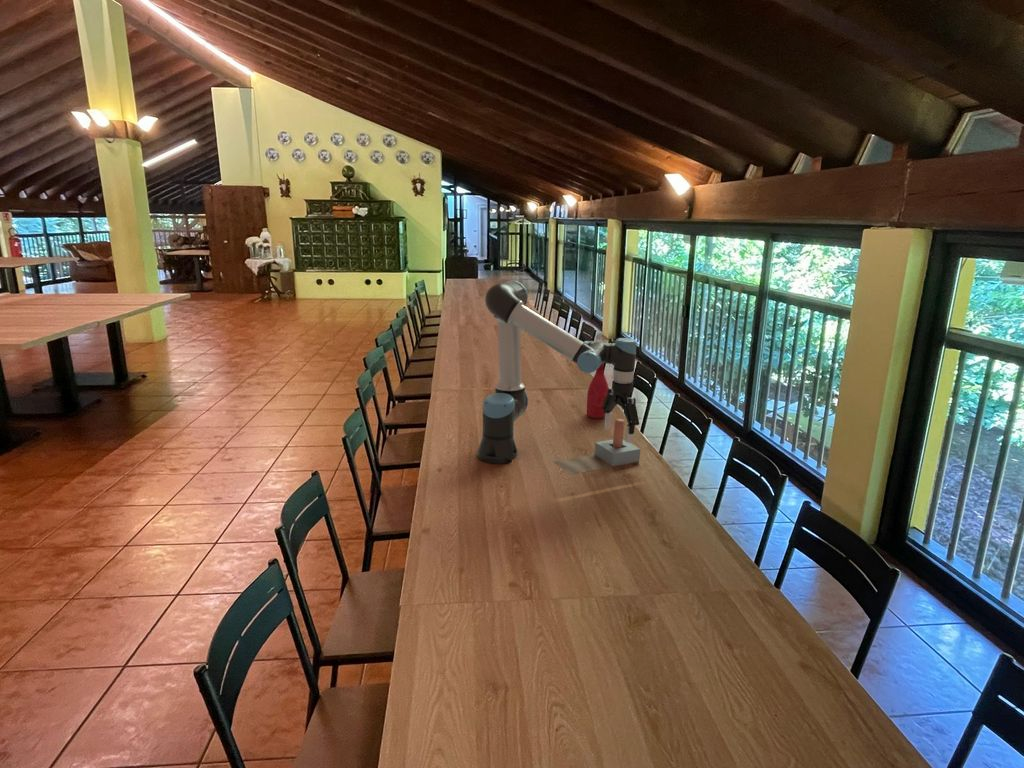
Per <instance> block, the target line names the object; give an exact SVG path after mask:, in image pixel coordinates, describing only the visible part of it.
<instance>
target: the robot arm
mask: <svg viewBox="0 0 1024 768" xmlns="http://www.w3.org/2000/svg"><path fill="white" fill-rule="evenodd" d="M528 293H529V292H528V290H527V287H525V286H524V284H522V283H521V282H519V281H517V280H510V279H509V280H508V279H507V280H504V281H502V282H500V283H499V282H498V283H496V284H493V285H492V286H491V287H489V289H488V290H487V291H486V294H485V297H484V298H485V301H484V302H485V305H486V309H488V311H489V313H491V314H492V315H493V318H494V320H496V321H497V333H498V335H497V337H498V338H497V340H498V342H497V345H498V347H497V348H498V382H497V384H495V387H494V388H495V390H494V391H495V392H494V393H493V394H488V395H487V396H486V397H485V398H484V399H483V403H482V408H481V409H482V437H481V440H480V442H479V445H478V449H477V458H478V459H479V460H480V461H482V462H485V463H488V464H498V465H501V464H508V463H511V462H513V460H514V459H516V458H517V457H518V448H517V445H516V441H515V438H514V430H515V429H514V426H515V424H514V423H515V421H516V420H517V419H519V418H520V417H521V416H523V414H524V413H525V412H526V410H527V409H528V408H527V407H528V405H529V396H528V394H527V392H526V385H525V384H524V383H523V382H522V356H521V355H522V353H521V352H522V350H521V349H522V348H521V347H522V344H521V343H522V342H521V340H522V339H521V338H522V337H521V336H522V335H521V331H523V332H525V333H527V334H528V335H530V336H532V337H534V338H535V339H536V340H539V341H540V342H542V343H543V345H546V346H548V347H550V349H552V350H554V351H556V352H557V353H559V354H560V355H562V356H563V357H565V358H567V359H568V360H570V361H572V362H573V363H575V364H577V367H578V369H579V371H581V372H583V373H585V374H592V373H594V372H596V370H597V369H598V368H599V367H600V365H601V364H602V363H603V364H609V365H613V368H612V370H613V371H612V382H611V388H609V389H608V394H607V396H606V398H605V401H604V403H603V405H602V410H604V412H605V418H603V419H604V425H603V430H604V431H605V430H606V431H607V430H611V429H612V423H613V422H612V421H613V409H615V407H616V406H617V405H618V406H619V407H621V409H622V410H623V412H624V415H625V418H626V421H627V424H626V431H625V439H624V440H625V442H629V443H631V442H633V441H634V434H635V427H636V426H639V425H640V421H639V416H638V410H637V405H636V400H637V399H636V397H630V396H631V395H630V394H632V392H633V390H634V389H633V387H634V382H633V381H634V378H635V377H634V376H635V375H634V374H635V366H636V357H637V342H636V340H634V339H633V338H628V337H619V338H616V340H615V342H614V343H612V342H605V341H604V342H603V341H595V340H585V341H582V340H581V339H578V338H577V337H576V336H574V335H572V334H571V333H569V332H568V331H565V330H564V329H563V328H562V327H559V326H557V325H556V324H554V323H553V322H552V321H550V320H548V319H547V318H545V317H544V316H542V315H540V314H538V313H536V312H535V311H534V310H532V309H531V308H529V307H527V306H526V304H527V303H528V298H529V294H528Z"/></svg>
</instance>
